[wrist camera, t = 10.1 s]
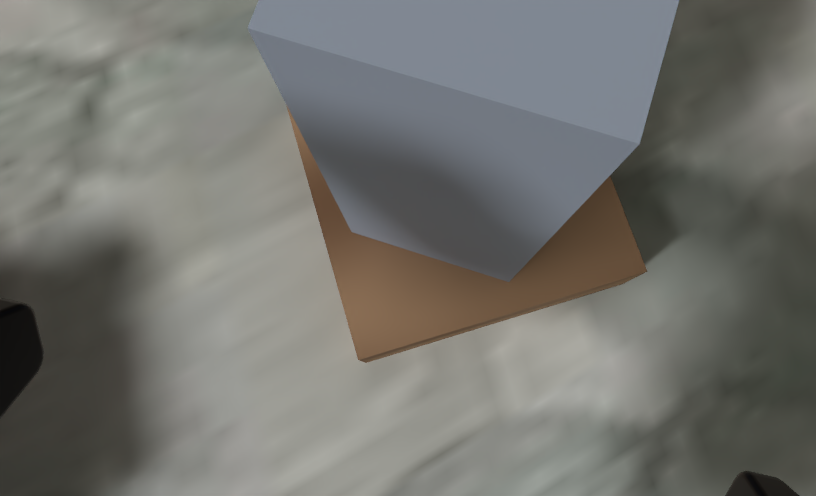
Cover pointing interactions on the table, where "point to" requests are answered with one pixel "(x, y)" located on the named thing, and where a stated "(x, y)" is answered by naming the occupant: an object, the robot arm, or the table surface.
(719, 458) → the table surface
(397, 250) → the pedestal
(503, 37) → the pillar
